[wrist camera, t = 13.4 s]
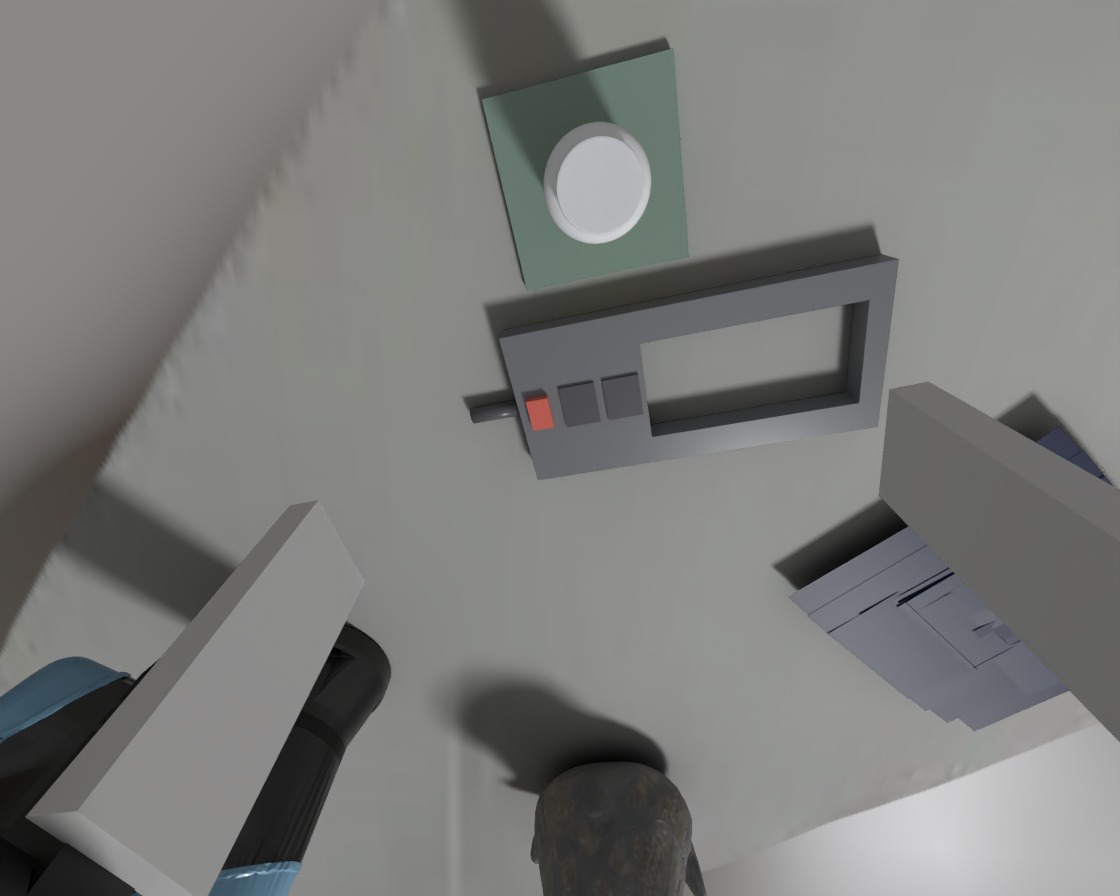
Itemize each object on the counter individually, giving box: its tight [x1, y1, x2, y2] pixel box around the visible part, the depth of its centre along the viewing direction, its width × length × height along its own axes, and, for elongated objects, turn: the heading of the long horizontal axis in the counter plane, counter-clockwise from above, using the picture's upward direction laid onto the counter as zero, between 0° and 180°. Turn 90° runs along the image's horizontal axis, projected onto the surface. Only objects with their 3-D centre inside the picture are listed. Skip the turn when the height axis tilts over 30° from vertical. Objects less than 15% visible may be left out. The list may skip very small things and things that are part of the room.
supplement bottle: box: [544, 122, 651, 244], centre depth 26 cm, size 5×5×10 cm
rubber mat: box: [482, 49, 689, 291], centre depth 30 cm, size 11×11×1 cm
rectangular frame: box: [470, 254, 899, 480], centre depth 36 cm, size 30×12×3 cm, turn 102°
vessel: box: [531, 762, 706, 896], centre depth 58 cm, size 22×22×20 cm
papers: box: [788, 427, 1113, 731], centre depth 45 cm, size 24×30×4 cm
